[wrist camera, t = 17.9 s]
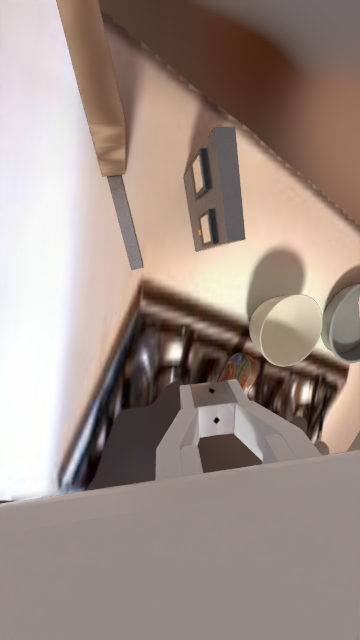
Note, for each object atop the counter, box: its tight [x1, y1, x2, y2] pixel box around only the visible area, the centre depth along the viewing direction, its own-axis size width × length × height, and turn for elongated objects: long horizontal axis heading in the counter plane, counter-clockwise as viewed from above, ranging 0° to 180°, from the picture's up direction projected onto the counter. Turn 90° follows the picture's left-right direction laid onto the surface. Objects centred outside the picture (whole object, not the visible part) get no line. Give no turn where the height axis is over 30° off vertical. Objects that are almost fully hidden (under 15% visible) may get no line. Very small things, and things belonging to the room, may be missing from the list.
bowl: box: [249, 294, 322, 366], centre depth 46 cm, size 16×16×10 cm
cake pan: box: [321, 283, 360, 363], centre depth 57 cm, size 25×25×4 cm
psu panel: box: [107, 126, 245, 270], centre depth 31 cm, size 17×27×14 cm, turn 11°
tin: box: [218, 353, 257, 396], centre depth 48 cm, size 15×3×8 cm, turn 153°
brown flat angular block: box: [56, 0, 125, 177], centre depth 26 cm, size 4×13×13 cm, turn 11°
